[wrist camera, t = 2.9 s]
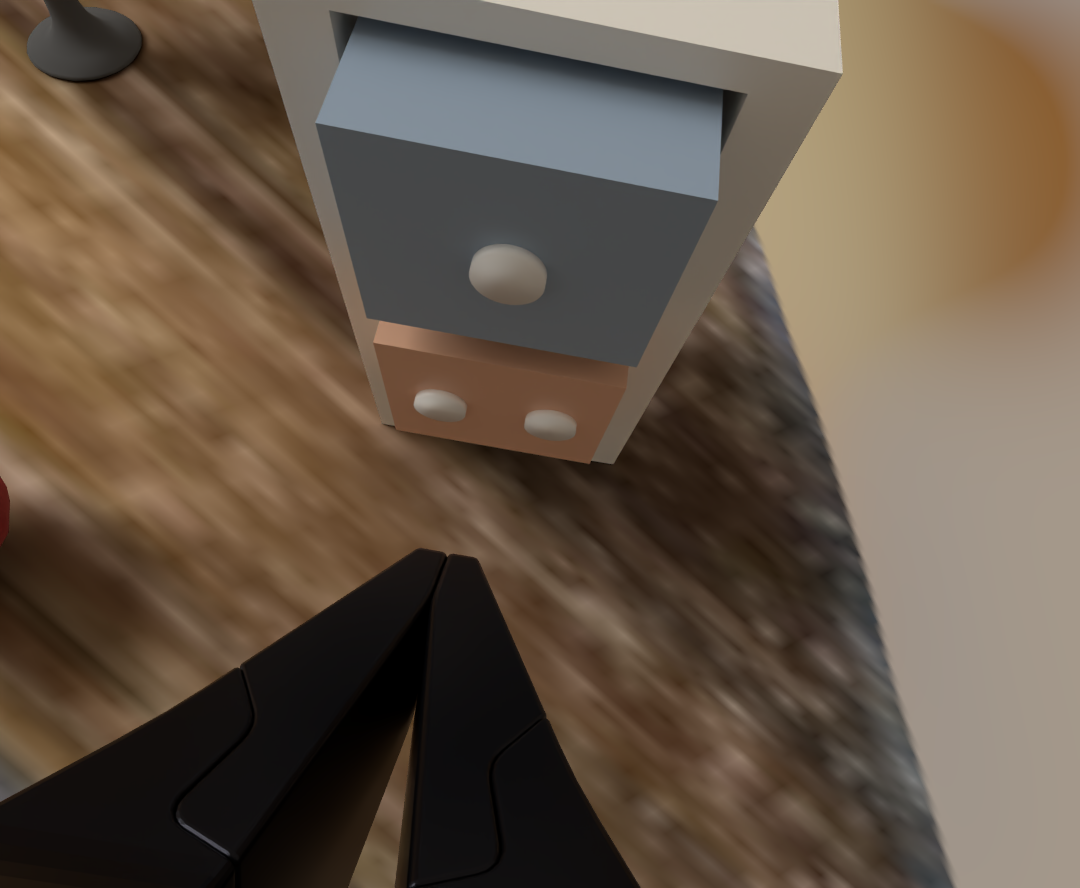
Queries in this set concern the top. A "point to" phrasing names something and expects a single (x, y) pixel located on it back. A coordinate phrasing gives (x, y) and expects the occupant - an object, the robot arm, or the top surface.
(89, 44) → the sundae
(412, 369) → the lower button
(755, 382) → the top surface
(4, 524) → the onion
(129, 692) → the top surface
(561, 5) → the box
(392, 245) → the upper drawer
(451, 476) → the top surface
